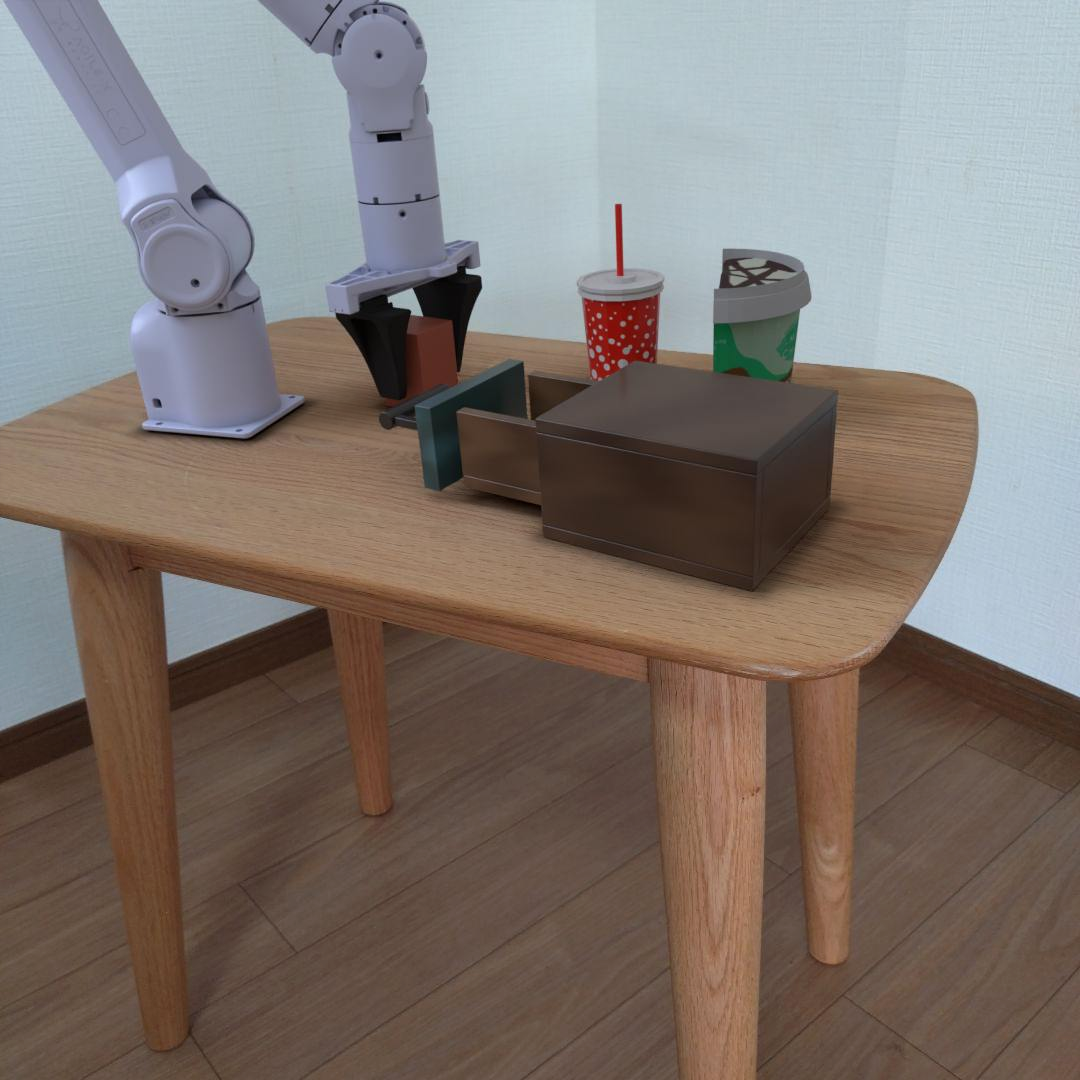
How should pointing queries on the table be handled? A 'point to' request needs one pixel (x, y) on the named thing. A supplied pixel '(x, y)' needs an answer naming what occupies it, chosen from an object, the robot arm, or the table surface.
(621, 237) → the beverage cup
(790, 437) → the cabinet
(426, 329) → the block
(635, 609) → the table surface
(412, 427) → the drawer
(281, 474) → the table surface
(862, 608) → the table surface
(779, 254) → the food container
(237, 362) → the robot arm
